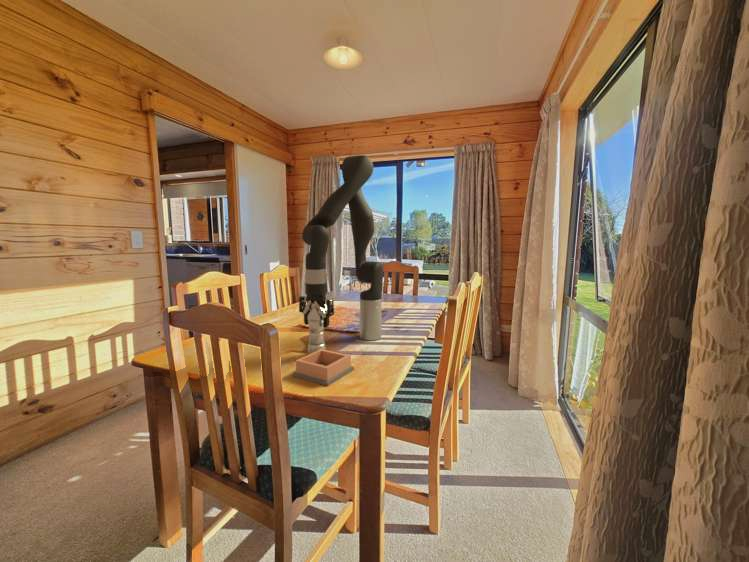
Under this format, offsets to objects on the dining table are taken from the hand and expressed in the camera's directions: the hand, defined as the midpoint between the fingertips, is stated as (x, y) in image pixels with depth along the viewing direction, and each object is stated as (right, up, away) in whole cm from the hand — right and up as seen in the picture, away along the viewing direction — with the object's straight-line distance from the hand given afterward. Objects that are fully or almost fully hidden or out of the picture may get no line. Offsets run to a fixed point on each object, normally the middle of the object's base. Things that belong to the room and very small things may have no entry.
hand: (316, 325), depth 121 cm
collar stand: (+5, -13, -14) cm, 20 cm away
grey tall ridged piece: (0, -12, +2) cm, 12 cm away
